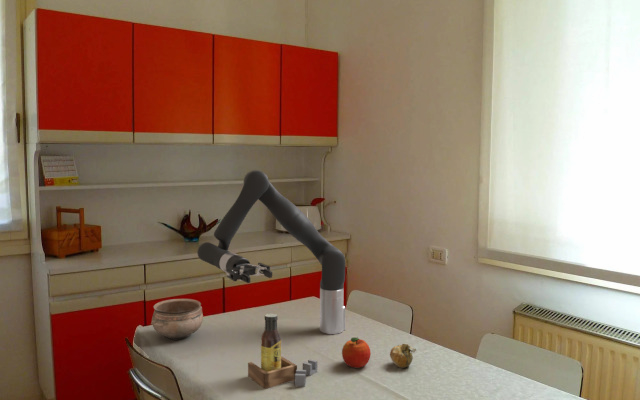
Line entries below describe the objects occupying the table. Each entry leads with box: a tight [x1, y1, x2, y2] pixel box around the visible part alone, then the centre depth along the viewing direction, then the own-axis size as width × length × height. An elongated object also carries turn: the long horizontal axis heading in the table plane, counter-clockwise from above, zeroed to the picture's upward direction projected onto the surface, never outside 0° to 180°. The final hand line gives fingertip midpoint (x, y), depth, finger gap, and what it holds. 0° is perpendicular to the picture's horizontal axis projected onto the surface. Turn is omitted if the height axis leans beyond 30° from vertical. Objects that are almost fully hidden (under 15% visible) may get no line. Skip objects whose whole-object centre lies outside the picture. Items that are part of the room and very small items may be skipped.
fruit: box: [341, 336, 372, 369], centre depth 178 cm, size 10×10×10 cm
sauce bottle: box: [260, 313, 282, 372], centre depth 168 cm, size 7×6×20 cm
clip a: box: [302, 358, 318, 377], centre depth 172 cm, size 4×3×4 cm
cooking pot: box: [150, 298, 204, 341], centre depth 204 cm, size 25×19×12 cm
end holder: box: [247, 355, 298, 390], centre depth 168 cm, size 11×11×4 cm
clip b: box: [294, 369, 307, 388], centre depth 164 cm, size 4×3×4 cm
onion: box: [389, 343, 417, 369], centre depth 178 cm, size 8×8×8 cm
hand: (260, 277), depth 176 cm, fingers open, 8 cm apart
